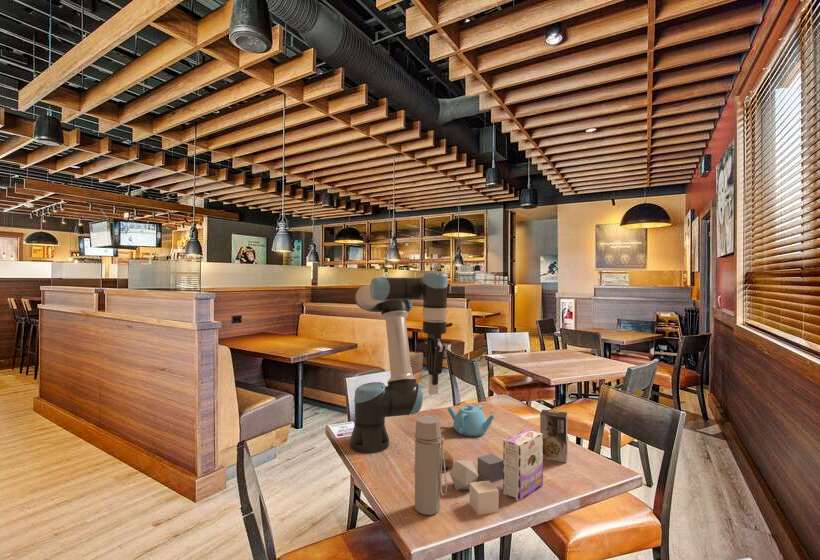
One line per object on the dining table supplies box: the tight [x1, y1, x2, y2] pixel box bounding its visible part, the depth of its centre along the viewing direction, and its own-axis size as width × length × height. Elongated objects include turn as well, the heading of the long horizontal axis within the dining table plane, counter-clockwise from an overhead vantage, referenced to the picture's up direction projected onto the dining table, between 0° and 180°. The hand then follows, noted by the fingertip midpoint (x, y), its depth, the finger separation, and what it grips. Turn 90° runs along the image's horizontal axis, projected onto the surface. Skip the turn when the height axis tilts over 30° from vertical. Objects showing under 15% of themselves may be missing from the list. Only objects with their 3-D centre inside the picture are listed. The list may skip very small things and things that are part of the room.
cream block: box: [469, 480, 500, 516], centre depth 115 cm, size 6×6×6 cm
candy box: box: [502, 428, 544, 502], centre depth 125 cm, size 14×6×16 cm, turn 133°
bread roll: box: [440, 447, 454, 474], centre depth 141 cm, size 10×10×8 cm
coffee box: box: [539, 409, 569, 463], centre depth 149 cm, size 9×6×16 cm
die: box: [449, 459, 479, 491], centre depth 127 cm, size 8×9×10 cm
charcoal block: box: [477, 453, 503, 484], centre depth 133 cm, size 6×6×6 cm
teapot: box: [447, 403, 496, 437], centre depth 175 cm, size 15×17×11 cm
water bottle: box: [414, 415, 448, 516], centre depth 114 cm, size 9×8×25 cm
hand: (433, 393), depth 132 cm, fingers closed
